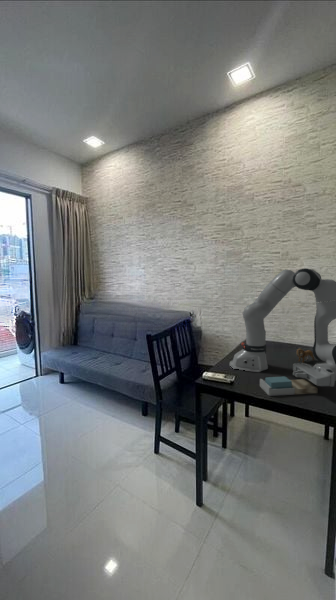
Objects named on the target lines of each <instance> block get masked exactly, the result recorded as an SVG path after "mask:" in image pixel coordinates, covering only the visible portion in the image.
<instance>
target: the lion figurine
mask: <svg viewBox="0 0 336 600" xmlns="http://www.w3.org/2000/svg"><path fill="white" fill-rule="evenodd" d="M296 356H297V357H298V361H297V362H301V363H305V360H306V361H307V360H308V359H309V358H310V357H311V360H312V361H315V357H314V355H313V350H311V349H307V350H304V349H302V348H298V349H296ZM301 358H302V360H301Z"/></svg>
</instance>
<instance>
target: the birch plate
mask: <svg viewBox="0 0 336 600" xmlns="http://www.w3.org/2000/svg"><path fill="white" fill-rule="evenodd" d="M290 380H291V381H292V388H295V394H294V395H306V394H307V395H310V394H318V387H317V386H315V384H313V383H312V382H310V381H309V380H307V379H306V378H300V379H290Z"/></svg>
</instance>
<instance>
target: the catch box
mask: <svg viewBox="0 0 336 600" xmlns="http://www.w3.org/2000/svg"><path fill="white" fill-rule="evenodd" d="M259 387H260V388H261V390H262V391H264V393H265V394H267V396H269V397H272V396H273V397H274V396H275V397H276V396H290V395H291V396H292V395H296V394H295V388H282V389H271V387H270V386H269V385H268V384H267V383H266V382H265V379H263V378H259Z"/></svg>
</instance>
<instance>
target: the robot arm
mask: <svg viewBox="0 0 336 600" xmlns="http://www.w3.org/2000/svg"><path fill="white" fill-rule="evenodd" d="M294 288H298V290H299V289H300V290H303V291H311V292H312V293H313V294H314V298H315V305H316V311H315V312H316V313H315V315H314V323H313V324H314V325H313V327H314V328H313V330H314V331H313V332H314V333H313V334H314V340H313V347H312V352H313V357H314V359H316V360H317V361H319V362H320V363H315V364H314V365H313V366H312V365H311V364H309V363H305V362H301V363H300V362H296V363H293V364H292V371H293V372H292V376H295V377H296V378H300V379H305V380H307V381H308V382H310V383H311V384H313V385H314V386H315V385H316V387H317V386H318V387H335V385H336V384H335V383H336V343H330V342H329V329H328V328H329V325H330V323H331V322H333V321H334V320H336V280H334V279H328V278H327V279H322V276H321V274H320V273H319V272H318V271H316V270H314V269H312V268H305V267H304V268H301V269H298V270H297V271H296V272H294V271H293V270H291V269H283V270H281V271H280V272H279V273H278V274H277V275H275V276H274V277H273V278H272V279H271V280H270V282H269V283H268V284H267V285H266V286H265V287H264V289H263V290H261V292H260V294H259V295H258V297H257V298H256V299H255V301H253V303H251V304H248V305H247V306H246V307H245V308H244V310H243V311H242V318H243V319H244V324H245V325H244V326H245V331H246V332H245V333H246V336H245V339H246V340H245V342H241V346H242V349H240V350H239V351H238V352H236V353H234V356H233V359H232V360H231V361H229V367H230V366H231V367H232V368H233V369H232V368H231V367H230V368H231V369H232V370H234V369H239V370H238V371H243V370H245V371H247V372H252V373H261V372H263V371H266V370H268V369H269V366H268V362H267V344H266V334H267V333H266V332H267V331H266V329H265V321H264V319H266V318H267V316H268V315H269V314H270V313H271V312H272V311H273V310H274V308H275V307H276V306H277V305H278V304H279V302H281V301H282V300H283V299H284V297H285V296H287V294H288V293H289V292H290V291H291V290H292V289H294ZM322 362H323V363H322ZM245 371H244V372H245Z"/></svg>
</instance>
